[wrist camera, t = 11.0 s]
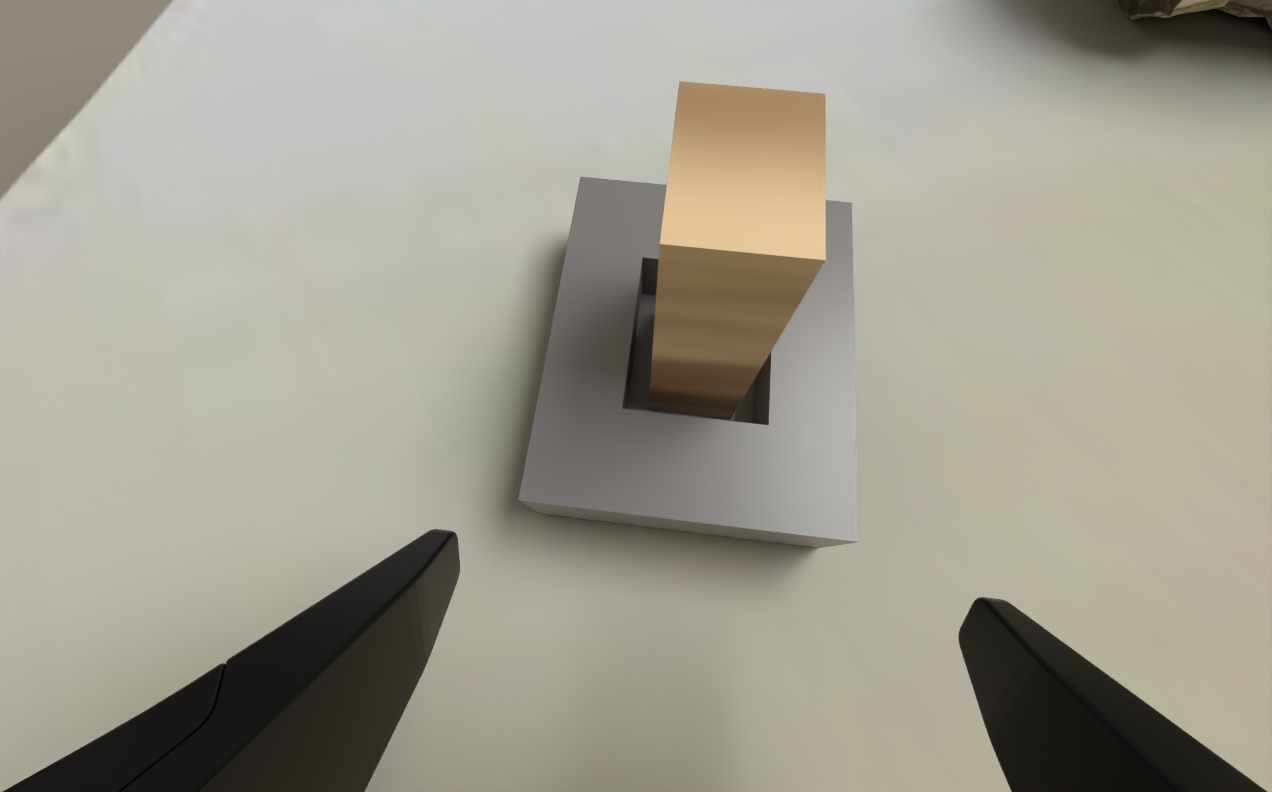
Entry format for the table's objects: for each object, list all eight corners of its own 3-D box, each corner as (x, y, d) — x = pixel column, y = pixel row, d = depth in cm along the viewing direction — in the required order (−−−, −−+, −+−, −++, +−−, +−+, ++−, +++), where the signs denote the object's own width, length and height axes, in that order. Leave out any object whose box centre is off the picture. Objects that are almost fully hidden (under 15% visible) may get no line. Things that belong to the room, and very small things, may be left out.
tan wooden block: (730, 418, 19) (825, 260, 9) (648, 409, 19) (660, 243, 9) (736, 320, 20) (825, 94, 11) (659, 312, 20) (679, 81, 11)
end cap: (818, 548, 18) (858, 542, 15) (539, 513, 19) (518, 500, 15) (819, 258, 22) (851, 202, 19) (588, 235, 23) (580, 176, 19)
